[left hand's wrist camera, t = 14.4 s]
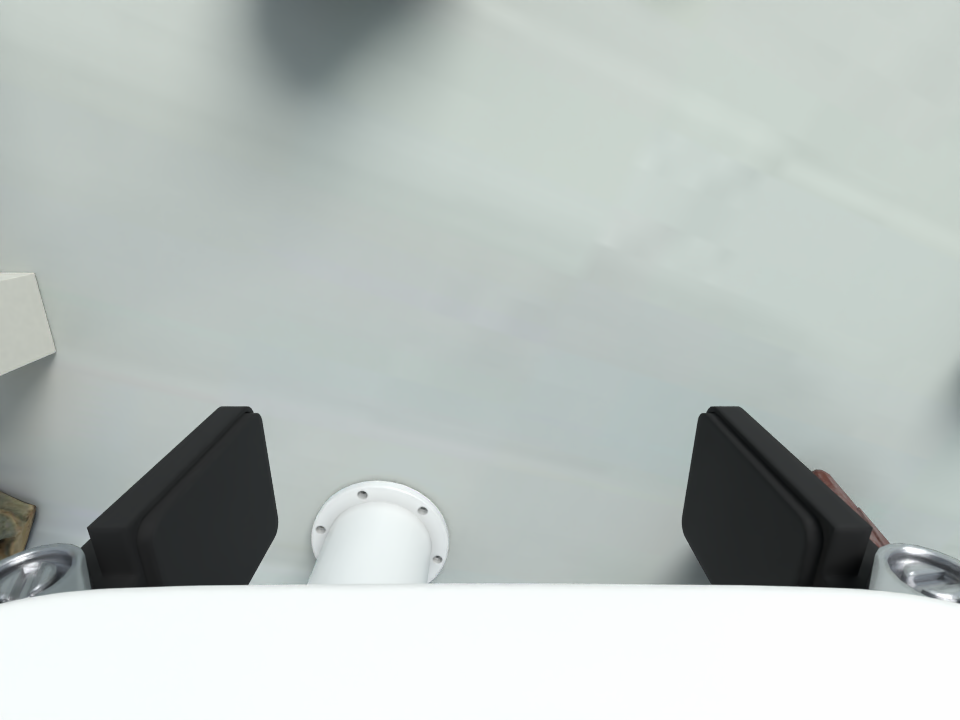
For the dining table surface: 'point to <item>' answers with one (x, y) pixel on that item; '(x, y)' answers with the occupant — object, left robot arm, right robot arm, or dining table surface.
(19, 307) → the brick
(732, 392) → the dining table surface
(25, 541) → the statue
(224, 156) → the dining table surface
